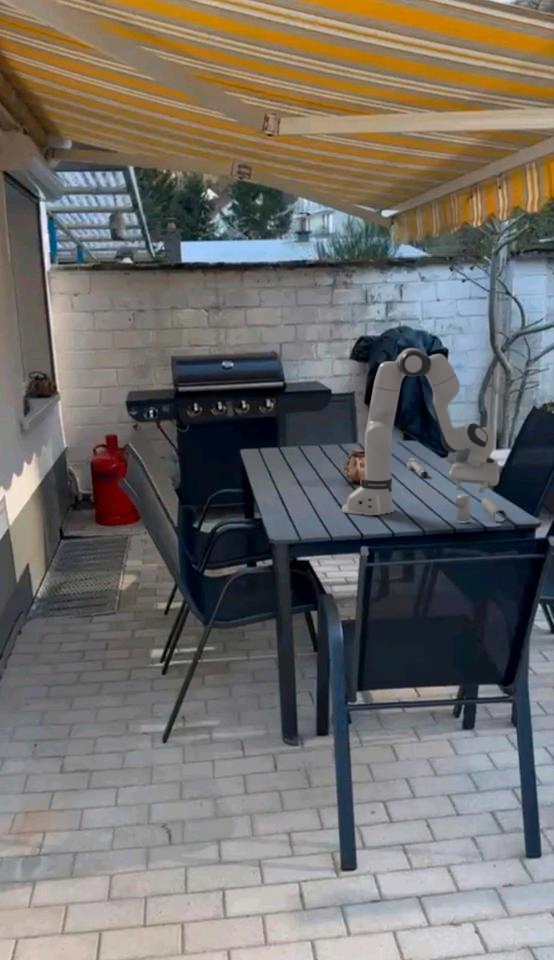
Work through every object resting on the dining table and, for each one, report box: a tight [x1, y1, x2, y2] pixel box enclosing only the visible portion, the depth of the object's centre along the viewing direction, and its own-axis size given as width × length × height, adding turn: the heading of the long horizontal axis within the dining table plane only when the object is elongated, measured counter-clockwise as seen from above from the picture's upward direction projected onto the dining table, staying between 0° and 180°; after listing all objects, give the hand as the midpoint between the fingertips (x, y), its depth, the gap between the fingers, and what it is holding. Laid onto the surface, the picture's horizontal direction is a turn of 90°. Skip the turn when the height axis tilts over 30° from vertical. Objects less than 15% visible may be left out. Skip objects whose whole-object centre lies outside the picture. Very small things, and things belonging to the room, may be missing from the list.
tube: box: [480, 497, 508, 520], centre depth 328 cm, size 5×5×25 cm
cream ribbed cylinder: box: [406, 457, 429, 479], centre depth 409 cm, size 5×7×25 cm
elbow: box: [454, 493, 472, 521], centre depth 314 cm, size 8×6×11 cm
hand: (469, 490), depth 320 cm, fingers open, 8 cm apart
